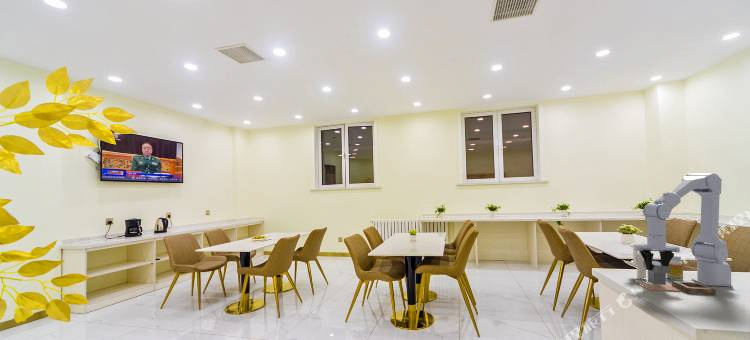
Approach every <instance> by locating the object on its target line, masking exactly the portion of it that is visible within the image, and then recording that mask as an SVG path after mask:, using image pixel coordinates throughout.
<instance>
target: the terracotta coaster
mask: <svg viewBox="0 0 750 340" xmlns="http://www.w3.org/2000/svg"><path fill="white" fill-rule="evenodd" d="M634 283H636V284H637V283H639V284H641V285H643V286H644V287H643V286H642V287H643V288H646V289H647V290H648V291H656V292H657V291H658V292H674V293H675V292H676V293H681V290H679V289H677V288H675V287H673V286H672V285H670V284H668V283H666V285H657V284H652V283H650V282H647V283H646V280H645V281H644V280H635V281H634ZM639 284H638V285H639ZM641 285H640V286H641Z"/></svg>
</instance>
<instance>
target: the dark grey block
mask: <svg viewBox="0 0 750 340" xmlns="http://www.w3.org/2000/svg"><path fill="white" fill-rule="evenodd" d="M643 267H645V268H646V269H647V267H646V264H645V261H643ZM666 273H671V267H670V266H668V265H665V264H662V263H661V261H657V260H652V270H648V269H647V281H648V282H650V283H652V284H657V285H666V284H667V277H666Z"/></svg>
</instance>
